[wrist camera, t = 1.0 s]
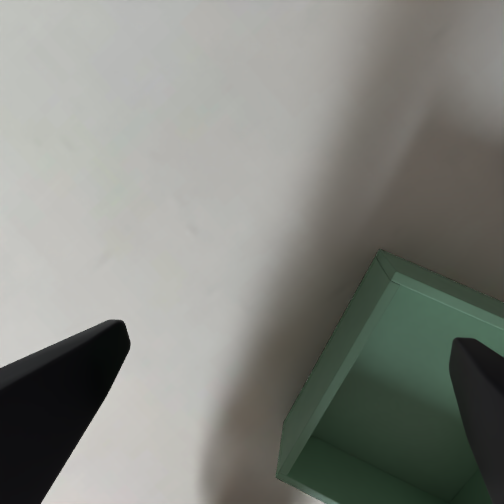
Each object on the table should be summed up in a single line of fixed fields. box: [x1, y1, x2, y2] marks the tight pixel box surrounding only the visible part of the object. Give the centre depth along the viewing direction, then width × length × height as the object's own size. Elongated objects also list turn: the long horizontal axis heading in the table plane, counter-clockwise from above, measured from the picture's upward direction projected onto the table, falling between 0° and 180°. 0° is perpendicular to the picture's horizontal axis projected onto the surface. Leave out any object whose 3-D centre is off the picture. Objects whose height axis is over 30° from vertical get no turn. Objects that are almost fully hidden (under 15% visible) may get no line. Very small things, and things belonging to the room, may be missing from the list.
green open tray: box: [276, 249, 504, 504], centre depth 21 cm, size 16×14×5 cm
